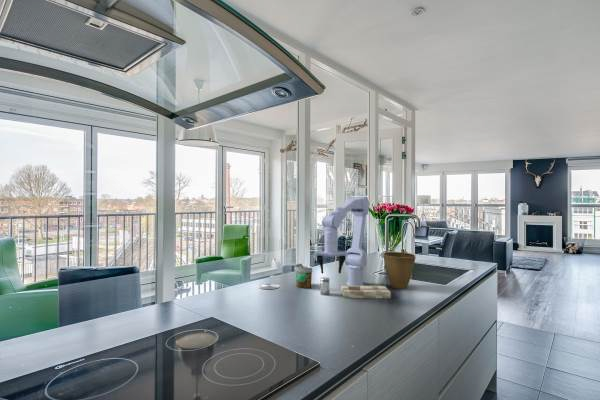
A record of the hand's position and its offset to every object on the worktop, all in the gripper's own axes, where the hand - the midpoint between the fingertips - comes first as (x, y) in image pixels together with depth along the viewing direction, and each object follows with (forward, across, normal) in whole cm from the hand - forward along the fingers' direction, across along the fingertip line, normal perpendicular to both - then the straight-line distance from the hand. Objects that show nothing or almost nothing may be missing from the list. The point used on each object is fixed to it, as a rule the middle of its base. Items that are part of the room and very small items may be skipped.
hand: (330, 272), depth 140 cm
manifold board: (+10, +16, +2) cm, 18 cm away
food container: (+10, -13, +14) cm, 22 cm away
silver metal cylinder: (+10, -2, +2) cm, 11 cm away
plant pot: (+10, +35, +15) cm, 39 cm away
